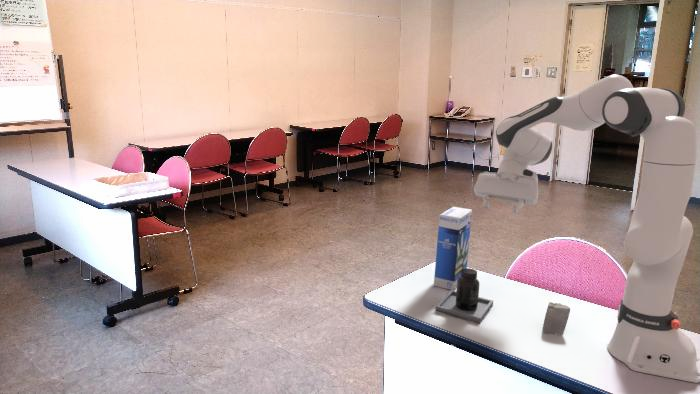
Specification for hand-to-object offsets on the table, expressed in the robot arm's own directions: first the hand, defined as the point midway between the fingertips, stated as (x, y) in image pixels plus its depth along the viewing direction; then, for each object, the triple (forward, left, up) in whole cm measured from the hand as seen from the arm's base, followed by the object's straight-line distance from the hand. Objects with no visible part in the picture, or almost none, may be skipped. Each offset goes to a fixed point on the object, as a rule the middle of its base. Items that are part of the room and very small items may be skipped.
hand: (499, 210), depth 168 cm
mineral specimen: (-22, +13, -30) cm, 39 cm away
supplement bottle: (+3, +15, -29) cm, 33 cm away
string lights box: (+15, -2, -30) cm, 33 cm away
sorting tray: (+4, +15, -29) cm, 33 cm away
